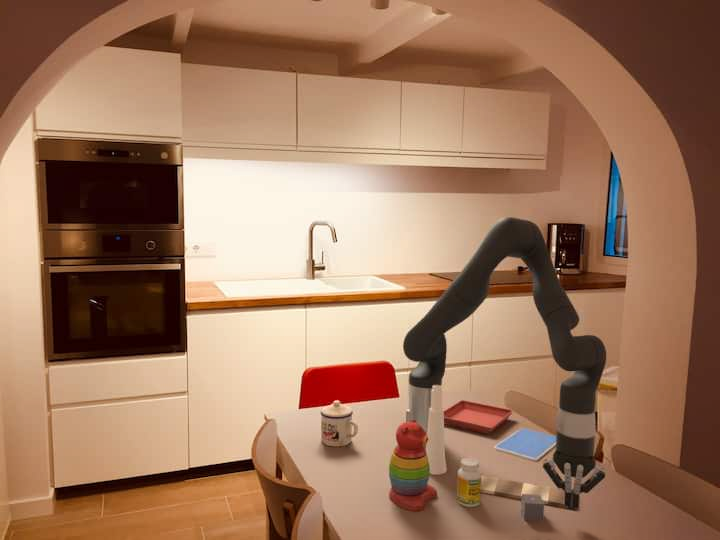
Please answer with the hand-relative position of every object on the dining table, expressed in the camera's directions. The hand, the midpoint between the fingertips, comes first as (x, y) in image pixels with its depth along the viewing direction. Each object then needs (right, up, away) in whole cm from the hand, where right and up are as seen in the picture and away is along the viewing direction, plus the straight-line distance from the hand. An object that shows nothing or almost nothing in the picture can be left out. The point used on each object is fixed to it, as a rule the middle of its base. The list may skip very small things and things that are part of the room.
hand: (571, 508), depth 125 cm
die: (-8, -3, +3) cm, 9 cm away
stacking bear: (-33, -2, +11) cm, 35 cm away
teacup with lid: (-51, +2, +42) cm, 66 cm away
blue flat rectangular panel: (+3, 0, +42) cm, 42 cm away
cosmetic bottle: (-26, -1, +25) cm, 36 cm away
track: (-7, -2, +13) cm, 15 cm away
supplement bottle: (-20, -2, +9) cm, 22 cm away
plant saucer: (-9, +3, +59) cm, 60 cm away
